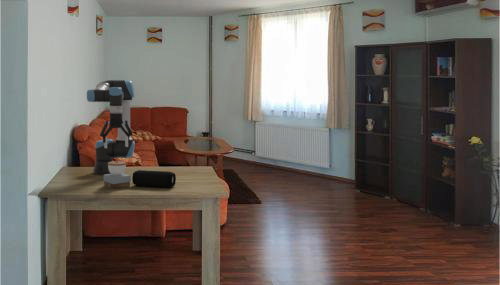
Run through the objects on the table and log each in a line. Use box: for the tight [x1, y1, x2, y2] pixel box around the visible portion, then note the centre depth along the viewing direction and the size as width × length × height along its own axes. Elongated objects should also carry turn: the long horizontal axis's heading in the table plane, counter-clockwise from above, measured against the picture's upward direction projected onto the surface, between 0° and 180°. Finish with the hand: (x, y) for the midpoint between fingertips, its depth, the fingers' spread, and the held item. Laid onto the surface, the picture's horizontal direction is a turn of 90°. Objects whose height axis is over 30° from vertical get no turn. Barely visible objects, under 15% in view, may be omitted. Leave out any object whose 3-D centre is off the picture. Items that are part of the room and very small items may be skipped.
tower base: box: [103, 180, 131, 190], centre depth 358 cm, size 12×12×4 cm
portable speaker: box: [131, 169, 177, 189], centre depth 360 cm, size 26×10×10 cm, turn 81°
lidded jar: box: [108, 159, 127, 176], centre depth 357 cm, size 11×11×9 cm
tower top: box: [103, 172, 132, 184], centre depth 357 cm, size 12×12×4 cm
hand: (116, 147), depth 355 cm, fingers open, 13 cm apart
